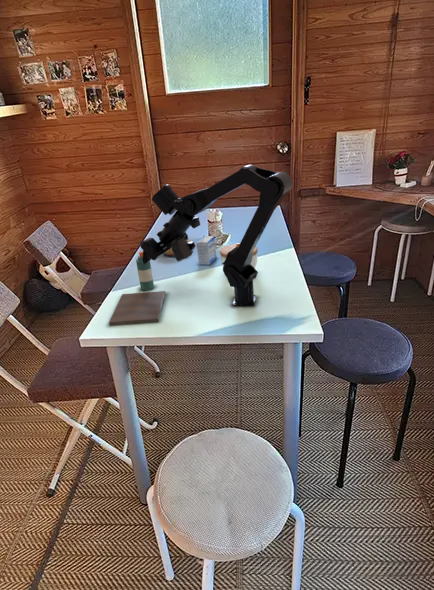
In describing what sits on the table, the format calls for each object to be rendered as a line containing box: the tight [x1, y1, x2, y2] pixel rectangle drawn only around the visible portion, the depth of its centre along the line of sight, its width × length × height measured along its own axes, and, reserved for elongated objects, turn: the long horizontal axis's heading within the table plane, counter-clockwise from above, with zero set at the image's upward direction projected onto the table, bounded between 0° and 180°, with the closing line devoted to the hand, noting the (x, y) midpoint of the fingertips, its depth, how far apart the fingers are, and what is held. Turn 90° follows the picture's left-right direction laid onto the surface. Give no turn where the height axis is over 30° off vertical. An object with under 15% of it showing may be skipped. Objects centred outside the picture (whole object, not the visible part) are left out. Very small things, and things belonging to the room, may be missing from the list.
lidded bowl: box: [219, 242, 258, 269], centre depth 148 cm, size 13×13×11 cm
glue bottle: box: [135, 250, 155, 291], centre depth 143 cm, size 4×4×12 cm
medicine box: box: [196, 235, 217, 266], centre depth 163 cm, size 8×4×9 cm, turn 161°
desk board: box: [108, 290, 167, 326], centre depth 132 cm, size 20×14×1 cm
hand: (152, 258), depth 139 cm, fingers open, 9 cm apart
